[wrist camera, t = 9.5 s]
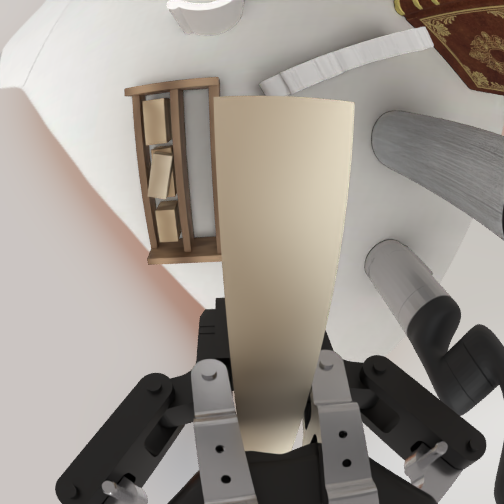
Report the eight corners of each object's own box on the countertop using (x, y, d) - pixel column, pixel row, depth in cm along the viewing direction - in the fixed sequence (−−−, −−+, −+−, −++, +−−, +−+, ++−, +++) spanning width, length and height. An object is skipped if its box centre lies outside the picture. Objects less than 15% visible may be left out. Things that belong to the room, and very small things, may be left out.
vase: (375, 173, 42) (495, 259, 19) (365, 114, 37) (506, 153, 14) (421, 163, 41) (541, 232, 18) (415, 107, 36) (551, 145, 13)
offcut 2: (178, 200, 42) (174, 209, 38) (181, 229, 44) (178, 241, 41) (160, 201, 42) (155, 210, 38) (164, 230, 44) (159, 242, 41)
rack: (219, 81, 33) (218, 76, 28) (226, 241, 46) (226, 261, 41) (138, 90, 33) (124, 88, 28) (156, 245, 45) (148, 264, 40)
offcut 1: (170, 98, 34) (163, 98, 30) (172, 138, 37) (166, 142, 33) (151, 101, 34) (142, 101, 30) (154, 140, 37) (146, 145, 33)
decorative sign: (266, 99, 37) (274, 104, 25) (258, 84, 36) (261, 81, 23) (395, 50, 31) (450, 44, 19) (388, 36, 30) (440, 23, 17)
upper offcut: (174, 153, 36) (172, 156, 34) (168, 194, 38) (165, 199, 37) (156, 151, 35) (153, 153, 33) (151, 191, 38) (147, 196, 36)
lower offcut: (174, 144, 38) (170, 148, 35) (178, 190, 41) (175, 196, 39) (156, 146, 38) (151, 150, 35) (160, 191, 41) (156, 198, 38)
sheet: (266, 102, 15) (354, 102, 4) (263, 335, 23) (284, 469, 13) (224, 103, 14) (213, 97, 4) (235, 337, 23) (244, 473, 13)
